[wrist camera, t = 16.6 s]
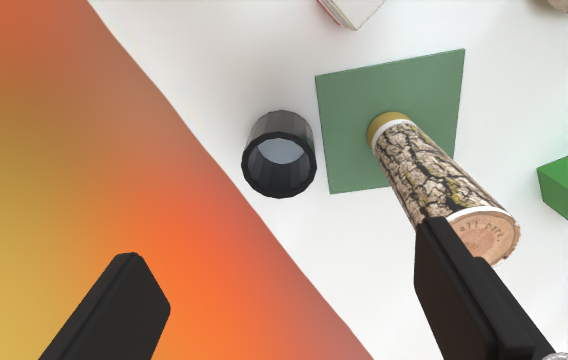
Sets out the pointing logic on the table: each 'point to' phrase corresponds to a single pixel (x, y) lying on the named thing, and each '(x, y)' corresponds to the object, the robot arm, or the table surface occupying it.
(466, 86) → the table surface
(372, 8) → the ink box
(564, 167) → the hardback book
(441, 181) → the paper tube
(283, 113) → the pen pot
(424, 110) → the mat
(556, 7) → the coin bank
